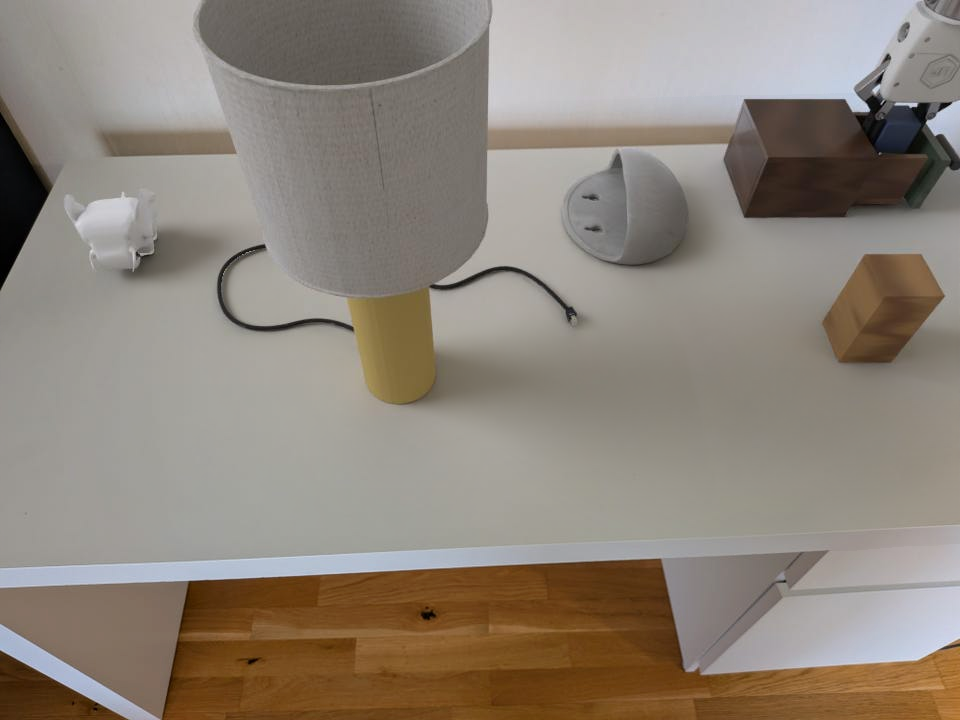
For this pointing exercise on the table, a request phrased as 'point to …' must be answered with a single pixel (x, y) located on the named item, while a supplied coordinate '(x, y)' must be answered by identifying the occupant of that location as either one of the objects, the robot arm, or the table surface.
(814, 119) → the cabinet
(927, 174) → the drawer
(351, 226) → the table lamp
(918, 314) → the stand
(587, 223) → the planter
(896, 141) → the block
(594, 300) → the table surface
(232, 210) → the table surface
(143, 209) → the elephant figurine
